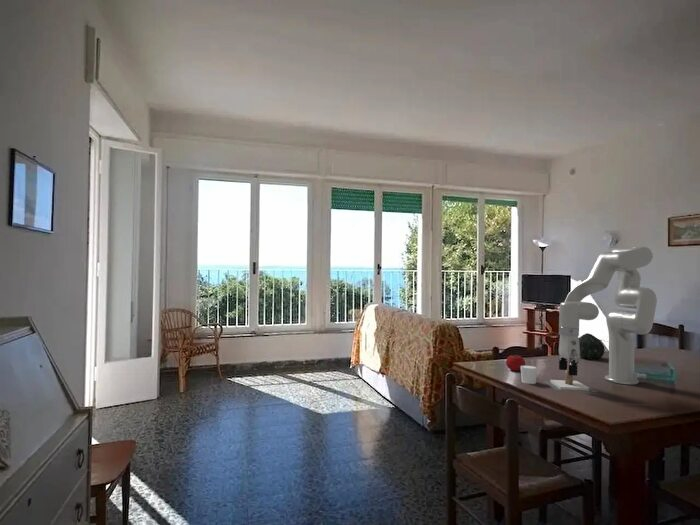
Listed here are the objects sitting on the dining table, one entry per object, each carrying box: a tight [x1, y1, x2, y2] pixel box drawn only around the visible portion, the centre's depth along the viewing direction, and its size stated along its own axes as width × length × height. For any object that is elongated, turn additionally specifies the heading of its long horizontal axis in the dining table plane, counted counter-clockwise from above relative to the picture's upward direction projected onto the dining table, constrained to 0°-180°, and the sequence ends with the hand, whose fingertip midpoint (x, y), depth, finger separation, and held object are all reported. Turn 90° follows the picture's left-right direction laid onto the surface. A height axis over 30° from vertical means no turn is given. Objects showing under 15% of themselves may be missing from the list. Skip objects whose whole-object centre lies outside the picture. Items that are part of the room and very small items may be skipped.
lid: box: [549, 369, 589, 391], centre depth 174 cm, size 11×11×6 cm
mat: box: [543, 380, 598, 393], centre depth 174 cm, size 16×14×1 cm
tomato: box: [505, 353, 526, 372], centre depth 202 cm, size 9×9×8 cm
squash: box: [578, 332, 606, 360], centre depth 234 cm, size 14×15×15 cm
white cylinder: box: [520, 364, 538, 385], centre depth 180 cm, size 7×7×7 cm
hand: (567, 372), depth 174 cm, fingers open, 9 cm apart
